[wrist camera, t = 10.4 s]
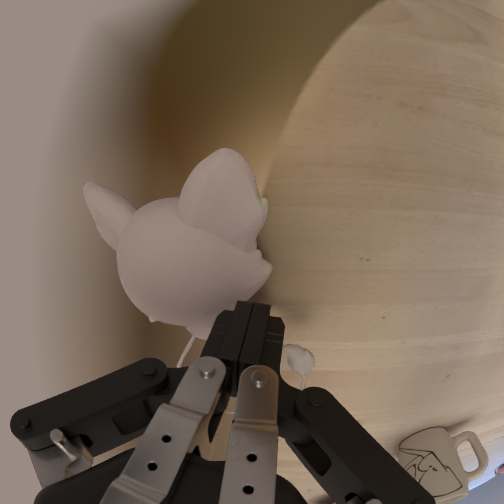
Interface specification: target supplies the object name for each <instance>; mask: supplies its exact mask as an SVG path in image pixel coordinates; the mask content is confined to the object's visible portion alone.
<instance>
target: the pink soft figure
mask: <svg viewBox="0 0 504 504" xmlns="http://www.w3.org/2000/svg"><path fill="white" fill-rule="evenodd" d="M496 472H497V471H495V475H496V474H497V475H498V474H499V473H501V474H503V473H504V465H503V466H501V467H499V468H498V473H496Z"/></svg>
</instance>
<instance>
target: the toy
mask: <svg viewBox="0 0 504 504" xmlns="http://www.w3.org/2000/svg"><path fill="white" fill-rule="evenodd" d="M83 193H84V197H85V201H86V203H87V205H88V208H89V210H90V212H91V214H92V216H93V219H94V221H95V224H96V227H97V230H98V232H99V234H100V235H101V237H102V238H103V240H104V241H105V242H106V243H107V244H108V245H109V246H111V247H112V248H113V249H114V250H115V251H117V267H118V272H119V277H120V280H121V283H122V285H123V288H124V289H125V292H126V294H127V295H128V297H129V298H130V300H131V301H132V302H133V303H134V305H135V306H136V307H137V308H138V309H139V310H141V311H142V312H143V313H145V314H146V315H148V317H149V320H150V322H155V321H161V322H163V323H167V324H173V325H180V326H185V327H186V329H187V330H188V331H189V332H190V333H191V334H192V337H191V339H190V341H189V343H188V345H187V346H186V348H185V350H184V351H183V353H182V355H181V357H180V360H179V362H178V364H177V368H181V364H182V361H183V359H184V357H185V355H186V354H187V352H188V351H189V349H190V347H191V345H192V344H193V342H194V340H195V337H197V338H200V339H203V340H207V339H208V336H209V334H210V332H211V329H212V327H213V324H214V322H215V319H216V317H217V315H219V314H220V313H221V312H222V311H223V310H231V311H234V309H235V306H236V303H237V301H238V300H240V301H246V300H248V299H249V298H250V297H251V296H253V295H254V294H255V293H256V292H257V291H258V290H259V289H260V288H261V287H262V286H263V284H264V283H265V282H266V280H267V279H268V277H269V276H270V274H271V272H272V265H271V264H270V263H269V262H267V261H266V260H264V259H263V258H262V253H261V251H260V250H258V249H256V248H257V242H256V238H257V235H258V234H259V232H260V231H261V229H262V228H263V226H264V224H265V222H266V219H267V216H268V201H267V199H266V198H265V197H261V198H260V195H259V192H258V189H257V184H256V180H255V176H254V174H253V172H252V170H251V168H250V166H249V164H248V163H247V161H246V159H245V158H244V157H243V156H242V155H241V154H240V153H238V152H236V151H235V150H232V149H229V148H221V149H218V150H217V151H215V152H213V153H212V154H210V155H209V156H208V157H206V158H205V159H204V160H202V161H201V162H200V163H199V164H198V165H197V166H196V167H195V168H194V169H193V171H192V172H191V174H190V175H189V177H188V179H187V180H186V182H185V184H184V186H183V188H182V191H181V194H180V197H169V198H162V199H158V200H155V201H152V202H150V203H148V204H146V205H144V206H142V207H141V208H139V209H138V210H137V209H136V208H135V207H134V206H133V205H132V204H131V203H130V202H129V201H128V200H126V199H125V198H124V197H122V196H121V195H120V194H118V193H116V192H114V191H113V190H111V189H108V188H107V187H104V186H103V185H101V184H99V183H96V182H88V183H86V185H85V186H84V188H83ZM283 349H284V351H285V352H286V354H287V359H288V364H289V365H290V367H291V369H292V370H293V371H294V372H296V373H299V374H302V385H301V390H303V389H304V381H305V375H304V374H306V373H309V372H310V371H311V370H312V369H313V368H314V367H315V359H314V355H313V354H312V353H311V352H310V351H309V350H307V349H305V348H302V347H300V346H298V345H292V344H287V345H284V346H283ZM226 413H229V414H234V413H235V412H231V411H227V410H226Z"/></svg>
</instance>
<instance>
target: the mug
mask: <svg viewBox="0 0 504 504" xmlns="http://www.w3.org/2000/svg"><path fill="white" fill-rule="evenodd" d="M465 440H468V441H469V442H470V444H471V446H472V448H473V450H474V452H475V454H476V456H477V459H478V462H479V467H478V468H477V469H476V470H474V471H472V472H466V471H465V470H464V469H463V466H462V464H461V461H460V458H459V456H458V453H457V447H458V445H459V444H460V443H461V442H463V441H465ZM398 463H399V464H400V465H401V466H402V467H403V468H404V469H405V470H406V471H407V472H408V473H409V474H410V475H411V476H412V477H413V478H414V479H415V480H416V481H417V482H418V483H419V484H421V485H422V486H423V487H424V488H425V489H426V490H427V491H428V492H429V493H430V494H431V495H432V496H433V497H434V499H435V502H436V504H453V503H455V502H457V501H459V500H461V499H463V498H465V497H466V496H467V495H468V494H469V492H468V491H469V490H468V483H469V482H470V481H472V480H474V479H476V478H478V477H479V476H480V475H482V474H483V472H484V471H485V470H486V468H487V466H488V456H487V453H486V451H485V450H484V448H483V446H482V445H481V443H480V441H479V439H478V437H477V435H476V434H475V433H474V432H471V431H466V432H462V433H460V434H458V435H457V436H455V437H450V435H449V434H448V432H447V431H446V430H445V429H444V428H442V427H435V428H430V429H426V430H423V431H420V432H418V433H416V434H414V435H412V436H410V437H408V438H407V439H405V440H404V441H403V442H402V443H401V445H400V448H399V459H398Z"/></svg>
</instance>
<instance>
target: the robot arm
mask: <svg viewBox="0 0 504 504" xmlns="http://www.w3.org/2000/svg"><path fill="white" fill-rule="evenodd" d="M270 309H271V305H269V304H262V303H254V302H247V301H240V300H238V301H237V303H236V306H235V309H234V311H231V310H223V311H222V312H221V313H220V314H219V315H217V317H216V319H215V322H214V324H213V327H212V329H211V332H210V334H209V336H208V339H207V341H206V344H205V346H204V348H203V351H202V353H201V356H200V358H197V359H195V360H194V361H193V362H192V363H191V364H190V366H187V367H181V368H167V367H166V365H165V364H164V363H163V362H162V361H161V360H159V359H156V358H145V359H142V360H139V361H137V362H135V363H133V364H130V365H128V366H126V367H124V368H122V369H119V370H117V371H115V372H112V373H110V374H108V375H105V376H103V377H101V378H98V379H96V380H94V381H91V382H89V383H86V384H84V385H82V386H79V387H77V388H74V389H72V390H69V391H67V392H64V393H62V394H59V395H57V396H54V397H52V398H49V399H47V400H44V401H41V402H39V403H36V404H34V405H31V406H28V407H25V408H23V409H20V410H18V411H17V412H16V413H15V414H14V415H13V416H12V418H11V421H10V428H11V431H12V433H13V434H14V435H15V436H16V437H17V438H18V439H19V440H20V441H21V442H22V443H23V445H24V446H25V447H26V448H27V450H28V452H29V455H30V458H31V460H32V463H33V466H34V469H35V471H36V474H37V477H38V479H39V482H40V484H41V486H42V490H41V491H40V492H39V493H38V495H37V496H36V498H35V501H34V504H308V503H307V502H306V501H305V499H304V498H303V497H302V495H301V494H300V493H299V491H298V490H297V489H296V488H295V487H294V486H293V485H292V484H291V483H290V482H289V481H288V480H286V479H285V478H283V477H281V476H279V475H277V474H276V472H277V453H278V436H280V437H282V438H285V440H286V443H287V444H288V445H289V447H290V448H291V449H292V451H293V452H294V453H295V454H296V456H297V457H298V458H299V460H300V461H301V462H302V463H303V465H304V466H305V467H306V468H307V470H308V471H309V472H310V473H311V474H312V476H313V477H314V478H315V479H316V481H317V482H318V483H319V484H320V485H321V487H322V488H323V489H324V490H325V491H326V492H327V494H328V495H329V496H330V497H331V498H332V499H333V501H334V502H335V503H336V504H436V502H435V499H434V497H433V496H432V495H431V494H430V493H429V492H428V491H427V490H426V489H425V488H424V487H423V486H422V485H421V484H419V483H418V482H417V481H416V480H415V479H414V478H413V477H412V476H411V475H410V474H409V473H408V472H407V471H406V470H405V469H404V468H403V467H402V466H401V465H400V464H399V463H398V462H397V461H396V460H395V459H394V458H393V457H392V456H391V455H390V454H389V453H388V452H387V451H386V450H385V449H384V448H383V447H382V446H381V445H380V444H379V443H378V442H377V441H376V440H375V439H374V438H373V437H372V436H371V435H370V434H369V433H368V432H367V431H366V430H365V429H364V428H363V427H362V426H361V425H360V424H359V423H358V422H357V421H356V420H355V419H354V418H353V416H352V415H351V414H350V413H349V412H348V411H347V410H346V409H345V408H344V407H343V406H342V405H341V404H340V403H339V402H338V401H337V400H336V399H335V398H334V396H333V395H332V394H331V393H330V392H328V391H327V390H325V389H323V388H320V387H308V388H305V389H303V390H299V389H297V388H294V387H292V386H290V385H288V384H287V383H286V382H285V381H284V380H283V379H282V377H281V375H280V362H281V354H282V346H283V338H284V330H285V325H284V323H283V321H282V319H281V318H280V317H273V316H270ZM237 392H238V394H237ZM230 396H232V397H236V396H237V400H236V407H235V413H234V419H233V421H232V425H231V431H230V438H229V443H228V449H227V456H226V461H210V457H211V451H212V447H213V444H214V442H215V439H216V437H217V434H218V431H219V429H220V427H221V424H222V421H223V419H224V416H225V414H226V409H227V406H228V402H229V399H230ZM141 435H143V436H142V438H141V439H140V441H139V443H138V445H137V447H136V448H132V449H129V450H126V451H124V452H122V453H120V454H118V455H116V456H114V457H112V458H110V459H108V460H106V461H104V462H102V463H100V464H98V465H95V466H93V467H92V463H93V457H95V456H98V455H100V454H102V453H105V452H107V451H109V450H111V449H114V448H116V447H118V446H120V445H122V444H124V443H127V442H128V441H131V440H133V439H135V438H137V437H139V436H141Z"/></svg>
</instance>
